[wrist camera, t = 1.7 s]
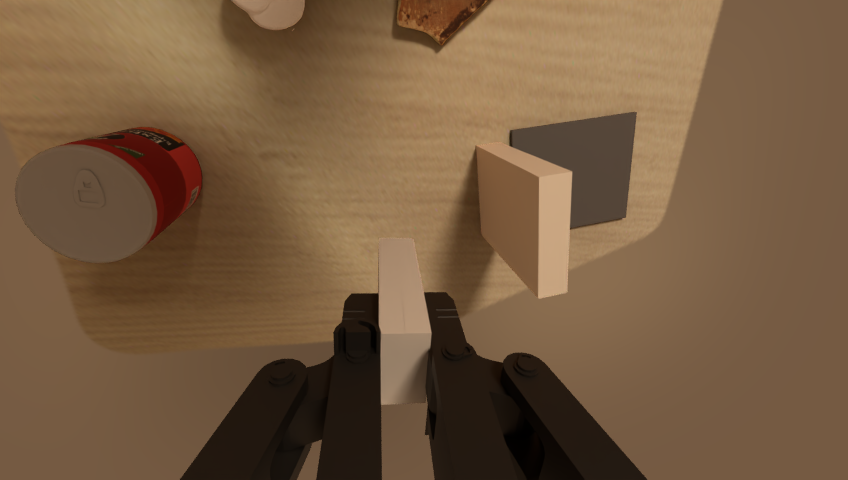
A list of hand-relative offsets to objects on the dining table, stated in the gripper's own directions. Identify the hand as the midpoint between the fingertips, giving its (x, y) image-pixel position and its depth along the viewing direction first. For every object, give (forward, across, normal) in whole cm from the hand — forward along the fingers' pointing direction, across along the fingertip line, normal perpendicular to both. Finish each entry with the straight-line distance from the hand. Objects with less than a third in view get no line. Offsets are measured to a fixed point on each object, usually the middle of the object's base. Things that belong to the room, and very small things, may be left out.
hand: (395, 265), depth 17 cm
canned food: (+22, -20, -2) cm, 30 cm away
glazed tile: (+24, +11, -4) cm, 27 cm away
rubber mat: (+25, +21, -2) cm, 32 cm away
